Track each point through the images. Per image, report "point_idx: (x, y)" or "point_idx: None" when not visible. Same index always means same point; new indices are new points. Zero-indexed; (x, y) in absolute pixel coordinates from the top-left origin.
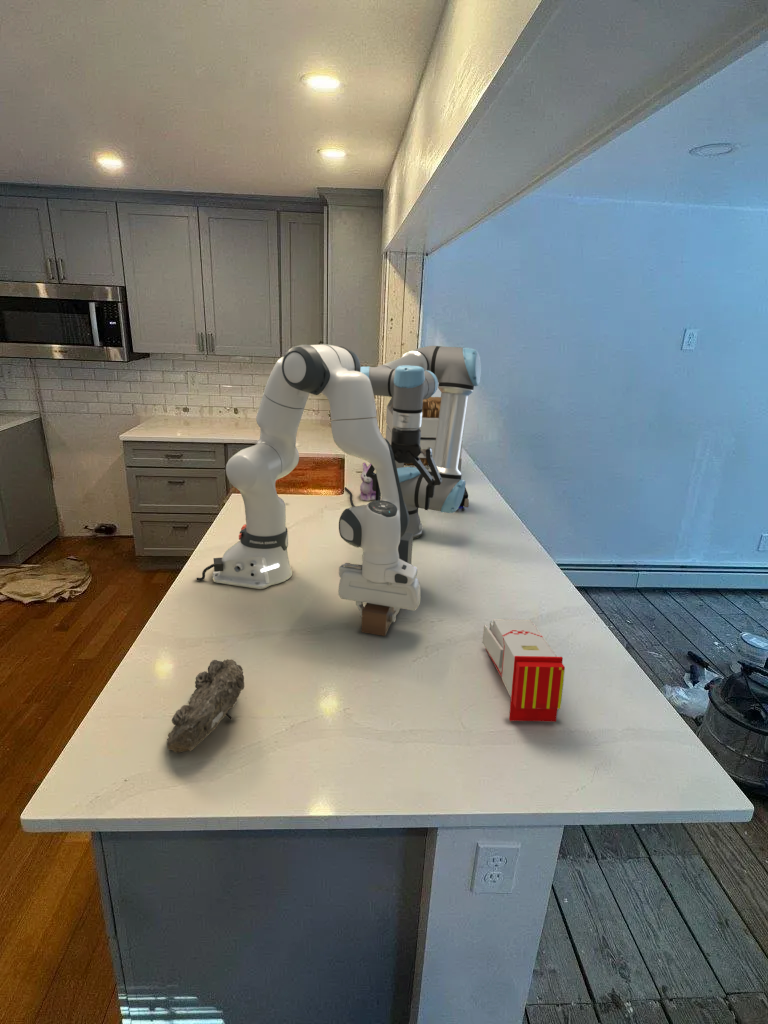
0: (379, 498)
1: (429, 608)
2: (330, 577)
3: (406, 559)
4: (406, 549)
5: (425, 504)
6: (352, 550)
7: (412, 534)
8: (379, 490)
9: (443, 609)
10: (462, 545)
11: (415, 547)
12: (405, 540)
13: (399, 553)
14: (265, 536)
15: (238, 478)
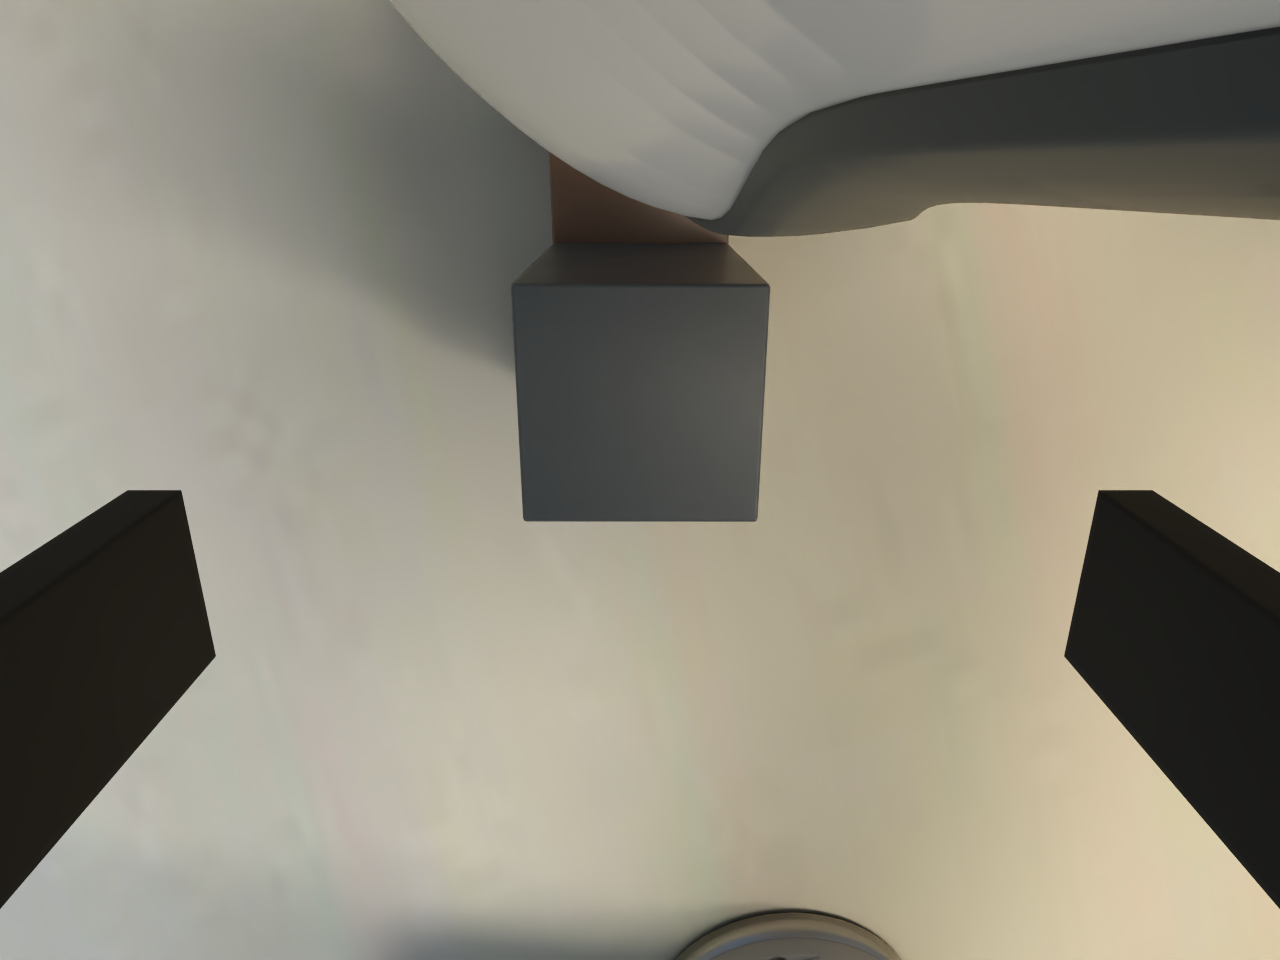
0: (1120, 623)
1: (356, 66)
2: (1118, 295)
3: (548, 257)
4: (542, 268)
5: (107, 538)
6: (1031, 710)
7: (522, 486)
8: (1247, 713)
9: (263, 86)
10: (396, 953)
11: (654, 856)
12: (550, 285)
13: (616, 261)
14: None
15: None
